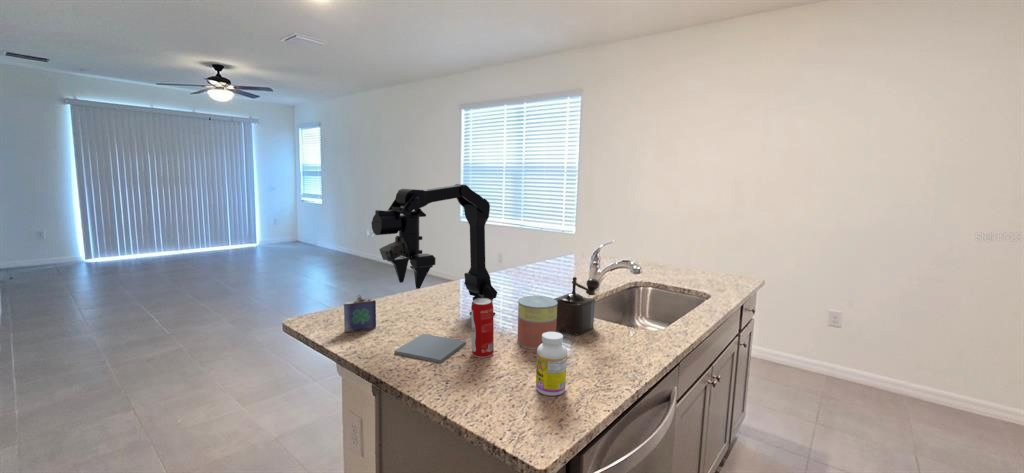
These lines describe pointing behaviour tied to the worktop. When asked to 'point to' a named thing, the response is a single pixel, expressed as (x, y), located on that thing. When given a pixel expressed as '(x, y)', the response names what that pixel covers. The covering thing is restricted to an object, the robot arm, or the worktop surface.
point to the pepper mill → (576, 309)
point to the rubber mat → (430, 348)
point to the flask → (359, 315)
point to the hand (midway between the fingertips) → (409, 285)
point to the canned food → (535, 319)
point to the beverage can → (482, 327)
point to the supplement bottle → (551, 364)
